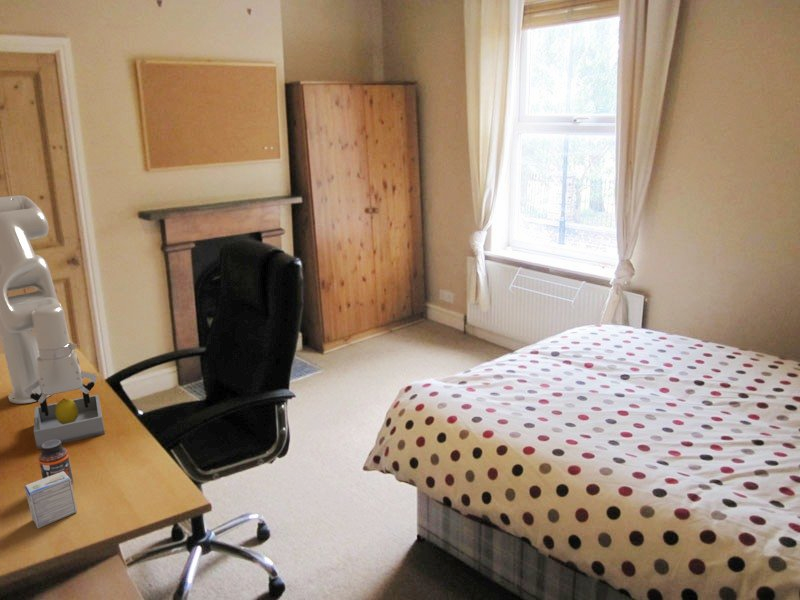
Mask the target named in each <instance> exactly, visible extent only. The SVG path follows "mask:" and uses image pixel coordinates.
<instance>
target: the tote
mask: <svg viewBox="0 0 800 600" xmlns="http://www.w3.org/2000/svg"><path fill="white" fill-rule="evenodd" d="M89 398H90V403H88V408H86V407H85V404H84V398H83V397H79V398H73V399H71V400H72V401H73V402H75V404H76V406H77V408H78V417H77V419H76V420H75V421H74V422H72V423H67V424H61V423H60V422H58V420H57V419H56V416H55V407H56V405H57V403H58V402H55V403H54V402H53V403H50V404H47V406H48V411H49V415H48V416H45V412H44V413H42V411H41V406H35V407H34V420H33V421H34V422H33V435H34V440H35V446H36V449H37V450H42V448H41V446H42V444H43V443H45V442H47V441H50V440H60V441H61V445H63V444H67V443H71V442H76V441H79V440H84V439H88V438H93V437H98V436H102V435H105V434H106V432H105V431H106V430H105V425H104V420H103V419H104V418H103V414H102V413H103V412H102V406H101V401H100V398H99V394H94V395H93V394H92V395H89Z"/></svg>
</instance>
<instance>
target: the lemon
mask: <svg viewBox="0 0 800 600" xmlns="http://www.w3.org/2000/svg"><path fill="white" fill-rule="evenodd" d="M72 400H73V399H69V398H62V399H60V400H59V401H58V402H56V403H57V405H56V407H55V416H56V419H57V420H58V422H60V423H61V424H67V423H72V422H74V421H75V420H76V419H77V417H78V408H77V406H76V404H75V402H73V401H72Z"/></svg>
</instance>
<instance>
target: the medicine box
mask: <svg viewBox="0 0 800 600" xmlns="http://www.w3.org/2000/svg"><path fill="white" fill-rule="evenodd" d="M24 489H25V495H26V497H27V503H28V505H29V507H28V508H29V511H30V514H31V517H32V520H33V522H34V524H35V526H36V528H37V529H40V528H43V527H44V526H48V525H49V524H52V523H54V522H56V521H60V520H61V519H64V518H66V517H68V516H71V515H73V514H75V513H77V512H78V509H77V506H76V505H77V504H76V500H75V496H74V490H73V485H71V479H70V478H69V477H68V476H67V475H66V473H65V472H64V471H62V472H60V473H57V474H54V475H51V476H49V477H46V478H41V479H38V480H36V481H34V482H30V483H28V484H26V485H24Z"/></svg>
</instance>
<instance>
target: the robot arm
mask: <svg viewBox="0 0 800 600" xmlns="http://www.w3.org/2000/svg"><path fill="white" fill-rule="evenodd" d="M49 227H50V225H49V222H48V219H47V218H46V215H45V214H44V212H43V210H42V209H41V208H40V206H38V205H37V204H36V203H35V202H34V200H32V199H31V198H29V197H28V196H26V195H10V196H9V195H8V196H3V197H2V196H1V197H0V341H1V345H2V349H3V352H4V357H5V361H6V366H7V370H8V375H9V379H10V383H11V387H12V392H10V393H9V394H8V401H9V402H10V403H13V404H17V405H22V404H30V403H35V402H37V403H39V405H40V406H41V411H42V413H44V412H45V416H48V415H49V411H48V406H47V405H48V402H47V399H48V398H49V397H50V396H52V395H57V394H63V393H68V392H71V391H77V390H79V391H81V392H82V398H84V404H85V407H86V408H88V403H90V398H89V396H90V392H91V390H92V389H93V388H94V387H95V384H96V382H97V380H98V374H96V373H93V372H88V371H84V370H83V371H82V369H81V364H80V361H79V358H78V355H77V353H76V352H75V351H74V350H75V349H78V346H77V345H78V344H77V343H72V342H71V339H70V336H69V331H68V325H67V320H66V314H65V310H64V307H63V306H62V304H61V302H60V301H59V300H58V295H57V292H56V288H55V284H54V282H53V278H52V274H51V271H50V270H51V269H50V268H49V267H50V266H49V265H48V263H47V261H46V260H45V258H44V257H42V256H41V255H39V254H35V251H34V248H33V246H32V244H31V241H30V240H35V239H42V238H45V237H47V235H48V234H49V232H50V229H49ZM28 288H34V289H35V290H34V291H29V292H25V293H19V294H14V295H9V296H8V292H14V291H18V290H22V289H23V290H25V289H28ZM32 330H33V331H34V332H33V331H32ZM84 378H85V379H89V380H90V381H88V383H87V384H85V383H84V381H83V380H84Z"/></svg>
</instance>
